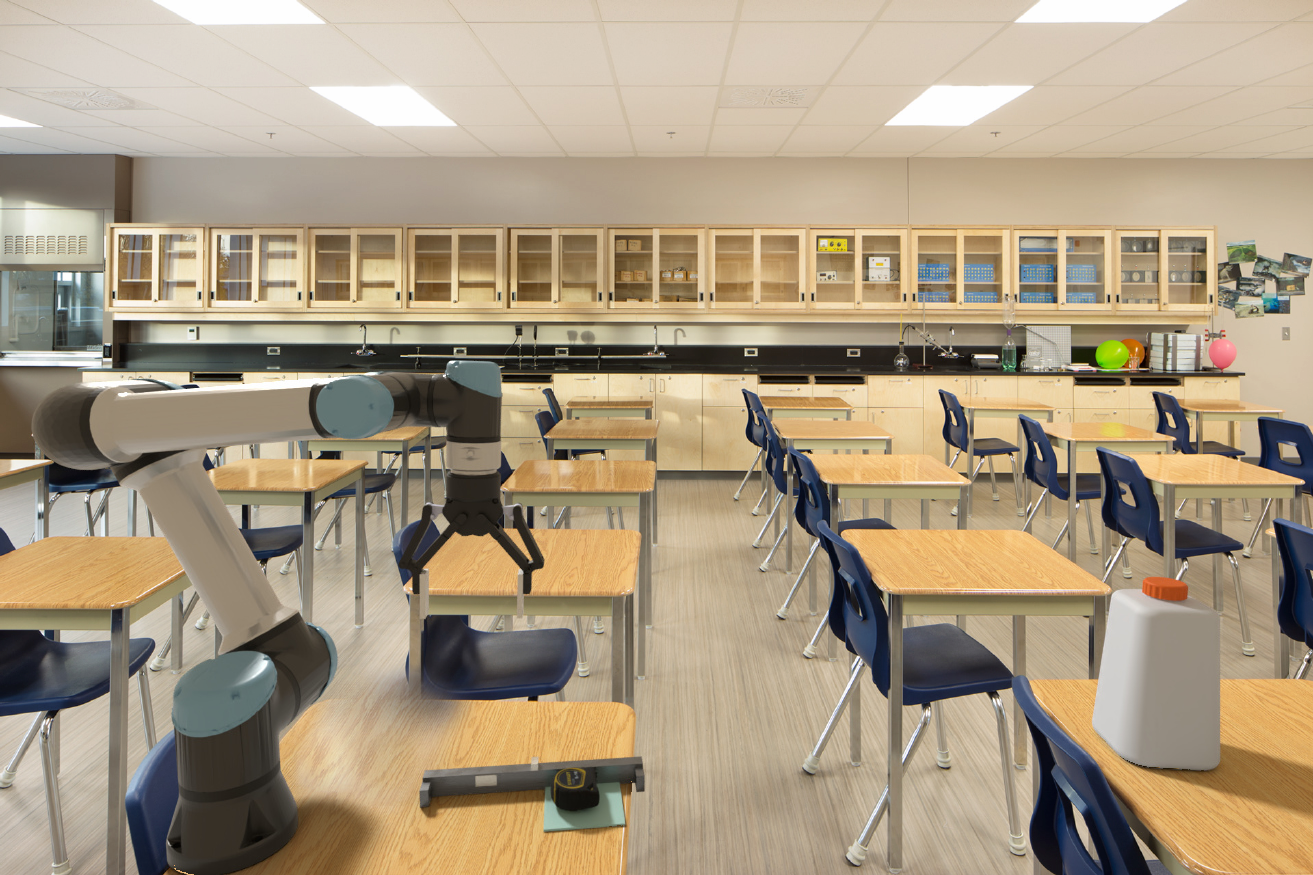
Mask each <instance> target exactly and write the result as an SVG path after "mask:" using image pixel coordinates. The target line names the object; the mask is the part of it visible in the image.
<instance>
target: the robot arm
mask: <svg viewBox="0 0 1313 875" xmlns="http://www.w3.org/2000/svg"><path fill="white" fill-rule="evenodd" d="M502 401H503V393H502V371H501V368H500V366H499V365H498V363H496V362H492V361H484V360H483V361H482V360H481V361H480V360H479V361H477V360H475V361H474V360H450V361H448V362H447V364H446V369H445V371H444V373H436V374H435V373H434V374H433V373H417V372H416V373H415V372H398V371H397V372H396V371H389V370H388V371H373V372H372V371H370V372H366V373H364V374H349V375H342V376H337V377H327V378H326V377H325V378H313V379H312V378H311V379H298V380H285V381H272V382H262V383H261V382H260V383H247V384H237V385H223V386H211V387H198V388H187V389H186V388H184V387H183V386H181V385H179V384H177V383H174V382H171V381H167V380H162V379H154V378H133V379H129V380H109V381H108V380H106V381H85V382H84V381H83V382H76V383H71V384H66V385H64V386H60V387H59V388H57V389H55V390H52V391H51V392H50V393H48V394H47V395H46V396H44V398H42V400H41V401H39V403H38V405H37V406H36V408H35V410H34V412H33V414H32V419H31V432H32V438H33V440H34V441H35V444H36V446H37V447H38V448H39V450H40V451H41V452H42V454H43V455H45V457H46V458H48V459H50V461H53V462H54V463H56V464H58V465H60V466H63V467H64V468H65V467H66V468H69V469H70V468H71V469H73V470H74V469H75V470H79V471H81V470H82V471H83V470H84V471H85V470H86V471H89V470H90V471H93V470H100V469H108V468H110V471H111V473H112V474H113V476H114V477H115V479H116V480H117V482H118V484H119V486H120V487H122V488H127V489H130V490H134V491H136V492H137V493H139V494H140V496H141V499H142V500H143V502H144V504H145V505H146V507H147V508H148V510H149V512H150V514H151V515H152V517H153V519H154V521H155V522H156V524H157V525H158V528H159V530H160V531H161V533H162V534H163V537H164V538H165V540H166V541H167V543H168V545H169V547H170V548H171V550H172V552H173V554H174V555H175V557H176V559H177V561H178V562H179V564H180V565H181V568H182V569H183V571H184V572H185V574H186V576H187V577H188V580H189V581H190V583H191V584H192V587H193V588H194V590H195V591H196V593H197V596H199V598H200V601H202V604H203V605H204V607H205V609H206V611H207V612H208V614H209V616H210V618H211V619H212V621H213V623H214V625H215V626H216V628H217V630H218V631H219V633H220V634H221V643H220V646H219V649H218V651H217V654H218V656H217V657H216V658H214V659H211V658H208V659H206V660H204V661H202V662H200V663H198V664H196V665H195V666H192V667H191V668H190V669H189V670H187V671H186V672H184V674H183V675H182V676H181V677H180V678H179V680H178V681H177V683H176V684H175V686H174V689H173V693H172V708H171V713H170V714H171V721H172V725H173V729H174V730H173V733H174V745H175V757H176V771H177V772H176V773H177V782H178V783H177V784H178V799H177V802H176V805H175V808H174V812H173V816H172V819H171V822H170V826H169V829H168V832H167V836H166V840H165V849H166V861H167V864H168V866H169V868H171V869H172V870H173V868H176V870H180V871H182V872H186V873H188V874H194V875H225V874H230V873H234V872H236V871H241V870H243V869H245V868H248V867H250V866H253V865H255V864H257V863H260V862H262V861H263V860H265V859H267V858H269V857H271V856H272V855H273V854H276V853H277V852H278V851H279V850H280V849H282V848H283V847H284V846H285V845H286V844H287V843H288V842H290V840H292V838H293V836H294V835H295V833H296V832H297V829H298V826H299V815H298V814H299V813H298V805H297V802H296V800H295V798H294V795H293V793H292V791H291V789H290V787H289V784H288V782H287V780H286V779H285V777H284V774H283V772H282V769H281V768H282V767H281V752H280V734H281V732H283V731H284V730H285V729H286V727H288V726H289V725H290V724H291V723H292V722H293V721H295V719H296V718H297V717H299V716H300V715H301V714H302V713H303V712H304V711H305V710H306V709H307V708H308V707H310V705H311V706H312V705H313V704H314V703H316V702H317V701H318V700H319V699H320V698H321V697H322V696H323V695H324V692H325V691H326V690H327V688H328V687H329V686H330V685H331V684H332V682H333V680H334V678H335V676H336V672H337V669H338V662H339V659H338V658H339V656H338V650H337V647H336V643H335V642H334V640H333V638H332V636H331V635H330V633H329V632H327V631H326V630H325V629H324V628H323V627H322V626H320V625H314V623H313V622H309V621H307V622H306V621H305V620H304V618H303V616H302V615H301V613H300V611H299V610H298V608H295V607H291V606H285V605H283V604H282V603H281V601H280V599H279V598H278V596H277V594H276V591H275V590H274V589H273V587H272V585H271V583H270V581H269V579H268V578H267V576H266V575H265V572H264V570H263V569H262V567H261V566H260V564H259V563H258V560H257V558H256V557H255V555H254V553H253V552H252V549H251V548H250V546H249V544H248V543H247V541H246V539H245V538H244V536H243V534H242V532H241V531H240V529H239V527H238V525H237V523H236V522H235V520H234V518H233V516H232V515H231V513H230V511H229V508H228V507H227V505H226V504H225V502H224V500H223V499H222V497H221V495H220V493H219V492H218V489H217V488H216V486H215V485H214V482H213V480H211V477H210V475H209V474H208V473H207V471H206V469H205V467H204V460H205V458H206V455H207V452H208V449H212V448H221V447H223V448H224V447H236V446H237V447H238V446H248V445H250V446H251V445H259V444H260V445H261V444H272V443H286V442H287V443H288V442H297V441H298V442H299V441H311V440H312V441H313V440H325V439H343V440H361V439H369V438H372V437H374V436H376V435H378V434H381V433H386V432H390V431H394V430H398V429H403V428H407V427H409V428H410V427H417V428H418V427H419V428H420V427H421V428H423V427H424V428H445V432H446V435H445V437H446V439H445V440H446V445H445V446H446V451H445V453H446V455H445V460H446V461H445V462H446V463H445V465H446V466H445V467H446V468H448V470H449V471H447V473H446V476H445V483H446V484H445V491H446V492H445V495H446V496H445V503H444V504H435V503H434V502H433V501H428V502H426V504H424V506H423V507H422V512H421V519H420V522H419V523H418V525H417V528H416V529H415V531H414V533H413V535H412V537H411V539H410V541H409V543H408V545H407V546H406V549H405V551H404V552H403V554H402V556H401V558H400V559H399V562H398V563H397V564H398V567H399V568H400V569H401V570H407V571H410V573H411V574H412V575H411V579H412V580H411V584H412V585H411V589H412V590H411V591H412V594H413V595H419V619H420V620H426V618H427V616H429V613H430V596H429V595H430V568H424V567H425V566H426V565H427V564H428V563H429V562H430V561H431V559H432V558H433V557H434V556H435V555H436V554H438V552H439V551H440V549H442V547H443V546H444V545H445V544H446V543H447V542H448V541H449V540H450V539H451V537H452V536H453V535H454V534H456V533H457V534H458V535H459V536H460V537H470V536H476V537H484V536H486V535H490V536H491V538H492V539H493V540H495V541H496V542H497V543H498V544H499V546H500V547H501V548H502V549H503V550H504V551H505V553H507V555H508V556H509V557H510V558H511V559H512V561H513V562H514V563H515V564H516V565H517V566H518V567H519V569H518V572H517V585H516V586H517V600H516V606H517V607H516V618H517V619H523V617H524V612H525V610H524V604H525V600H524V599H525V598H524V597H525V595H530V594H531V592H532V588H533V586H532V585H533V582H532V581H533V578H532V577H533V573H534V571H537V570H543V568H544V566H545V558H544V555H543V553H542V552H541V550H540V547H539V545H538V544H537V542H536V540H535V537H534V535H533V533H532V531H531V529H530V528H529V525H528V524H527V521H526V519H525V517H524V508H523V507H524V506H523V504H522V503H521V502H516V503H514V504H510V505H503V503H502V501H501V490H502V489H501V486H502V485H501V483H502V482H501V481H502V479H501V477H502V476H501V475H502V474H501V473H500V472H499V470H498V469H500V468H501V466H502V438H501V437H502V433H501V432H502V404H503V402H502ZM441 514H442V515H443V517H444V518H445V519H446V521H447V522H448V523H449V524H448V525H447V527H445V529H444V530H443V531H442V532H441V533H440V534H439V536H437V538H435V540H434V541H433V542H432V544H431V545H430V546H429V547H428V548H427V549H426V550H425V551H424V553H423V554H421V556H419V558H418V559H417V560H416V559H414V558H413V557H414V556H415V554H416V552H417V550H418V548H419V547H420V544H421V543H422V541H423V538H424V537H425V535H426V533H427V532H428V530H429V527H430V526H431V524H432V521H434V520H436V519H437V518H438V517H439V515H441ZM503 515H506V516H507V518H508V519H509V520H510V521H512V522H514V526H515V529H517V532H518V533H519V536H520V538H521V540H522V542H523V544H524V546H525V548H526V550H527V552H528V554H529V556H530V558H531V560H530V559H529V558H528V556H526V554H525V553H524V552H523V551H522V550H521V549H520V547H519V546H518V545H517V544H516V543H515V542H514V540H513V539H512V538H511V537H510V536H509V534H508V533H507V532H506V531H505V530H504V528H503V527H502V525H501V524H500V523H499V521H500V519H501V518H502V517H503ZM174 865H175V866H174Z"/></svg>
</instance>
